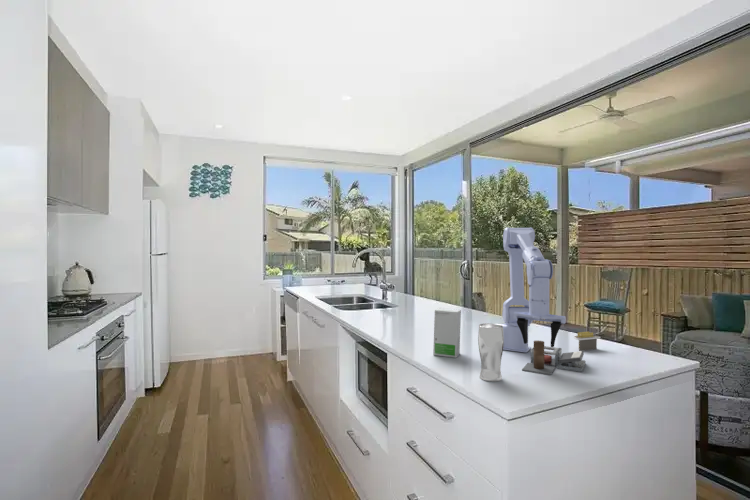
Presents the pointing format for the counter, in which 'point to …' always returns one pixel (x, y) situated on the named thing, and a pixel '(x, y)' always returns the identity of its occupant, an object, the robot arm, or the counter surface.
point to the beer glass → (491, 351)
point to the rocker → (571, 357)
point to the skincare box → (447, 332)
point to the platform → (587, 340)
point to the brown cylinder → (539, 354)
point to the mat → (546, 370)
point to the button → (547, 358)
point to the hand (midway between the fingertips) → (538, 344)
